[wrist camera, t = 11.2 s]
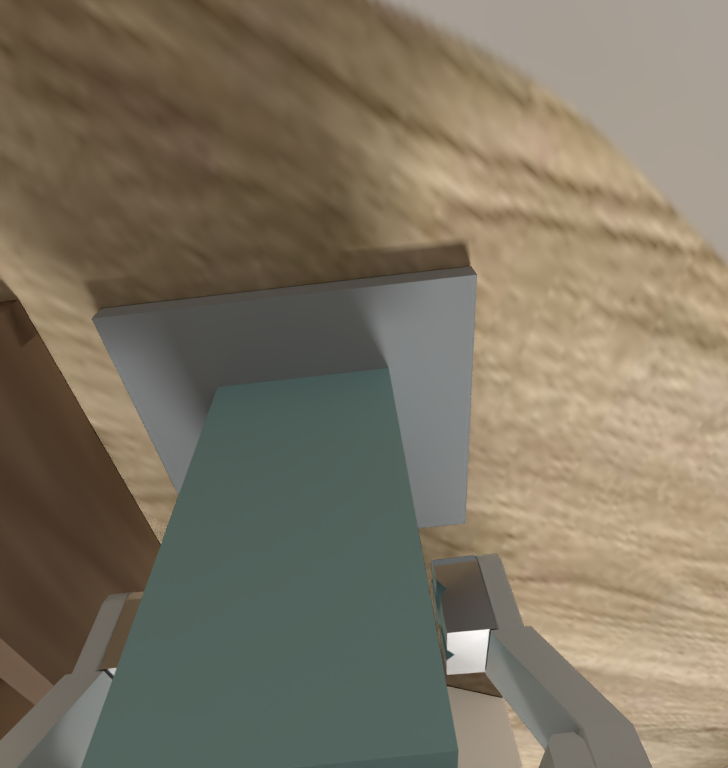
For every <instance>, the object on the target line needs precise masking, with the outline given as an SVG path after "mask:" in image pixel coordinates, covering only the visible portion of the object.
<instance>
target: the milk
mask: <svg viewBox="0 0 728 768" xmlns="http://www.w3.org/2000/svg"><path fill="white" fill-rule="evenodd" d="M447 690H448V695H449V701H450V706H451V712H452V717H453V723H454V728H455V734H456V739H457V745H458V750H459V752H458V768H523V767H522V764H521V760H520V756H519V752H518V749H517V745H516V741H515V738H514V734H513V730H512V726H511V723H510V719H509V715H508V712H507V708H506V704H505V701H504V699H503V698H500V697H495V696H490V695H486V694H481V693H477V692H472V691H468V690H463V689H458V688H454V687H449V686H447Z"/></svg>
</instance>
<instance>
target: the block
mask: <svg viewBox="0 0 728 768" xmlns="http://www.w3.org/2000/svg"><path fill="white" fill-rule="evenodd" d="M458 752H459V750H458V745H457V739H456V734H455V728H454V723H453V717H452V712H451V706H450V701H449V695H448V690H447V684H446V679H445V673H444V668H443V662H442V657H441V652H440V646H439V641H438V635H437V630H436V624H435V619H434V613H433V608H432V602H431V597H430V591H429V586H428V580H427V575H426V569H425V564H424V558H423V553H422V547H421V542H420V536H419V531H418V526H417V520H416V515H415V509H414V504H413V498H412V493H411V487H410V482H409V476H408V471H407V465H406V460H405V454H404V449H403V443H402V438H401V432H400V427H399V421H398V416H397V410H396V405H395V400H394V394H393V389H392V383H391V378H390V372H389V368H384V369H375V370H366V371H358V372H349V373H340V374H331V375H322V376H313V377H304V378H295V379H286V380H277V381H269V382H260V383H251V384H242V385H233V386H224V387H217V390H216V392H215V395H214V398H213V401H212V404H211V406H210V409H209V412H208V415H207V418H206V420H205V423H204V426H203V429H202V431H201V434H200V437H199V440H198V443H197V445H196V448H195V451H194V454H193V457H192V459H191V462H190V465H189V468H188V471H187V473H186V476H185V479H184V482H183V484H182V487H181V490H180V493H179V496H178V498H177V501H176V504H175V507H174V510H173V512H172V515H171V518H170V521H169V523H168V526H167V529H166V532H165V535H164V537H163V540H162V543H161V546H160V549H159V551H158V554H157V557H156V560H155V563H154V565H153V568H152V571H151V574H150V576H149V579H148V582H147V585H146V588H145V590H144V593H143V596H142V599H141V602H140V604H139V607H138V610H137V613H136V615H135V618H134V621H133V624H132V627H131V629H130V632H129V635H128V638H127V641H126V643H125V646H124V649H123V652H122V655H121V657H120V660H119V663H118V666H117V668H116V671H115V674H114V677H113V680H112V682H111V685H110V688H109V691H108V694H107V696H106V699H105V702H104V705H103V708H102V710H101V713H100V716H99V719H98V721H97V724H96V727H95V730H94V733H93V735H92V738H91V741H90V744H89V747H88V749H87V752H86V755H85V758H84V760H83V763H82V766H81V768H458Z"/></svg>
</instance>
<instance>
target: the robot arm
mask: <svg viewBox="0 0 728 768" xmlns="http://www.w3.org/2000/svg"><path fill="white" fill-rule="evenodd" d="M431 570H432V575H433V580H432V593H433V603H434V609H435V614H436V620H437V623H438V624H439V625H440V626H441V628H440V633H441V647H442V652H443V658H444V663H445V668H446V673H447V675H452V674H465V673H478V672H486V675H487V677H488V678H489V679H490V681H491V682H492V683H493V684H494V686H495V687H496V688H497V690H498V691H499V692H500V693H501V695H502V696H503V697H504V698H505V700H506V701H507V702H508V704H509V705H510V706H511V707H512V709H513V710H514V711H515V713H516V714H517V715H518V716H519V718H520V719H521V720H522V721H523V723H524V724H525V725H526V727H527V728H528V729H529V730H530V732H531V733H532V734H533V736H534V737H535V738H536V739H537V741H538V742H539V743H540V745H541V746H542V747H543V748H544V750H545V753H544V755H543V758H542V761H541V763H540V766H539V768H652V765H651V763H650V761H649V759H648V757H647V754H646V752H645V750H644V748H643V746H642V743H641V741H640V739H639V737H638V735H637V732H636V730H635V728H634V726H633V724H632V723H631V722H630V721H629V720H628V719H627V718H626V717H625V716H624V715H623V714H622V713H621V712H620V711H619V710H617V709H616V708H615V707H614V706H613V705H612V704H611V703H610V702H609V701H608V700H607V699H606V698H605V697H604V696H603V695H602V694H601V693H600V692H599V691H598V690H597V689H596V688H595V687H594V686H593V685H592V684H591V683H590V682H588V681H587V680H586V679H585V678H584V677H583V676H582V675H581V674H580V673H579V672H578V671H577V670H576V669H575V668H574V667H573V666H572V665H571V664H570V663H569V662H568V661H567V660H566V659H565V658H564V657H563V656H562V655H560V654H559V653H558V652H557V651H556V650H555V649H554V648H553V647H552V646H551V645H550V644H549V643H548V642H547V641H546V640H545V639H544V638H543V637H542V636H541V635H540V634H539V633H538V632H537V631H536V630H535V629H534V628H533V627H531V626H525V627H524V624H523V621H522V618H521V616H520V613H519V610H518V607H517V604H516V601H515V598H514V595H513V592H512V589H511V586H510V583H509V580H508V578H507V575H506V572H505V569H504V566H503V563H502V560H501V558H500V557H499V555H498V554H497V553H493V554H484V555H476V556H474V555H471V556H463V557H455V558H448V559H440V560H432V562H431ZM143 593H144V591H142V592H128V593H120V594H111V595H109V596H108V597H107V598H106V600H105V601H104V602H103V603H102V606H101V608H100V610H99V612H98V615H97V617H96V619H95V622H94V624H93V626H92V629H91V631H90V633H89V635H88V638H87V640H86V642H85V645H84V647H83V649H82V652H81V654H80V656H79V658H78V661H77V663H76V665H75V668H74V670H73V672H72V674H66V675H64V676H63V677H62V678H61V679H60V680H59V681H58V682H57V683H56V684H55V685H54V686H53V687H52V688H51V690H50V691H49V692H48V693H47V694H46V695H45V696H44V697H43V698H42V699H41V700H40V701H39V702H38V703H37V704H36V705H35V706H34V707H33V708H32V709H31V710H30V711H29V712H28V713H27V714H26V715H25V716H24V717H23V718H22V719H21V720H20V721H19V722H18V723H17V724H16V725H15V726H14V727H13V728H12V729H11V730H10V731H9V732H8V733H7V734H6V735H5V736H4V737H3V738H2V739H1V740H0V768H81V766H82V763H83V760H84V758H85V755H86V752H87V749H88V747H89V744H90V741H91V738H92V735H93V733H94V730H95V727H96V724H97V721H98V719H99V716H100V713H101V710H102V708H103V705H104V702H105V699H106V696H107V694H108V691H109V688H110V685H111V682H112V680H113V677H114V674H115V671H116V668H117V666H118V663H119V660H120V657H121V655H122V652H123V649H124V646H125V643H126V641H127V638H128V635H129V632H130V629H131V627H132V624H133V621H134V618H135V615H136V613H137V610H138V607H139V604H140V602H141V599H142V596H143Z"/></svg>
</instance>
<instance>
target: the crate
mask: <svg viewBox="0 0 728 768" xmlns="http://www.w3.org/2000/svg"><path fill="white" fill-rule="evenodd" d="M160 546H161V545H160V544H159V542H158V540H157V538H156V537H155V535H154V533H153V532H152V530H151V528H150V526H149V525H148V523H147V521H146V519H145V518H144V516H143V514H142V513H141V511H140V509H139V507H138V506H137V504H136V502H135V500H134V499H133V497H132V495H131V494H130V492H129V490H128V488H127V487H126V485H125V483H124V481H123V480H122V478H121V476H120V475H119V473H118V471H117V469H116V468H115V466H114V464H113V462H112V461H111V459H110V457H109V456H108V454H107V452H106V450H105V449H104V447H103V445H102V443H101V442H100V440H99V438H98V437H97V435H96V433H95V431H94V430H93V428H92V426H91V425H90V423H89V421H88V419H87V418H86V416H85V414H84V412H83V411H82V409H81V407H80V406H79V404H78V402H77V400H76V399H75V397H74V395H73V393H72V392H71V390H70V388H69V387H68V385H67V383H66V381H65V380H64V378H63V376H62V374H61V373H60V371H59V369H58V368H57V366H56V364H55V362H54V361H53V359H52V357H51V355H50V354H49V352H48V350H47V349H46V347H45V345H44V343H43V342H42V340H41V338H40V336H39V335H38V333H37V331H36V330H35V328H34V326H33V324H32V323H31V321H30V319H29V318H28V316H27V314H26V312H25V311H24V309H23V307H22V305H21V304H20V302H19V300H14V301H5V302H0V740H1V739H2V738H3V737H4V736H5V735H6V734H7V733H8V732H9V731H10V730H11V729H12V728H13V727H14V726H15V725H16V724H17V723H18V722H19V721H20V720H21V719H22V718H23V717H24V716H25V715H26V714H27V713H28V712H29V711H30V710H31V709H32V708H33V707H34V706H35V705H36V704H37V703H38V702H39V701H40V700H41V699H42V698H43V697H44V696H45V695H46V694H47V693H48V692H49V691H50V690H51V688H52V687H53V686H54V685H55V684H56V683H57V682H58V681H59V680H60V679H61V678H62V677H63V676H64V675H66V674H72V672H73V670H74V668H75V665H76V663H77V661H78V658H79V656H80V654H81V652H82V649H83V647H84V645H85V642H86V640H87V638H88V635H89V633H90V631H91V629H92V626H93V624H94V622H95V619H96V617H97V615H98V612H99V610H100V608H101V606H102V603H103V602H104V601H105V600H106V598H107V597H108V596H109V595H111V594H120V593H128V592H142V591H144V590H145V588H146V585H147V582H148V579H149V576H150V574H151V571H152V568H153V565H154V563H155V560H156V557H157V554H158V551H159V549H160Z"/></svg>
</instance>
